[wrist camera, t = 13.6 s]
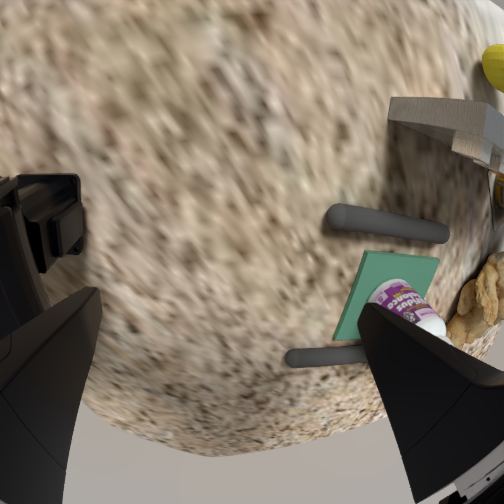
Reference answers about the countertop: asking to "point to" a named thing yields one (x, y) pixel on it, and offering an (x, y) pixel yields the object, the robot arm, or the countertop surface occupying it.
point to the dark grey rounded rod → (325, 356)
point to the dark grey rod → (386, 224)
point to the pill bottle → (409, 306)
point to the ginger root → (479, 304)
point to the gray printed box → (456, 126)
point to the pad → (375, 273)
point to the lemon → (494, 65)
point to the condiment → (497, 198)
